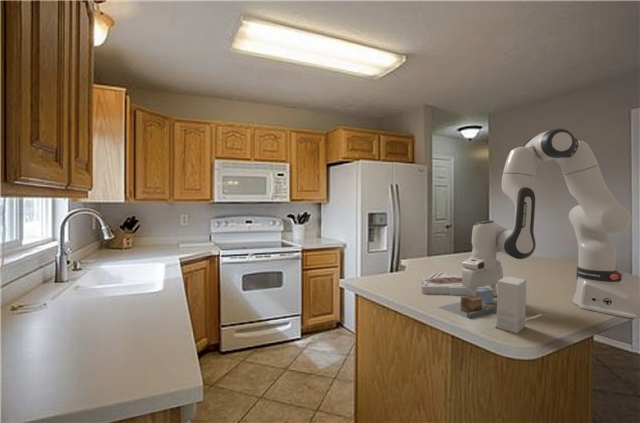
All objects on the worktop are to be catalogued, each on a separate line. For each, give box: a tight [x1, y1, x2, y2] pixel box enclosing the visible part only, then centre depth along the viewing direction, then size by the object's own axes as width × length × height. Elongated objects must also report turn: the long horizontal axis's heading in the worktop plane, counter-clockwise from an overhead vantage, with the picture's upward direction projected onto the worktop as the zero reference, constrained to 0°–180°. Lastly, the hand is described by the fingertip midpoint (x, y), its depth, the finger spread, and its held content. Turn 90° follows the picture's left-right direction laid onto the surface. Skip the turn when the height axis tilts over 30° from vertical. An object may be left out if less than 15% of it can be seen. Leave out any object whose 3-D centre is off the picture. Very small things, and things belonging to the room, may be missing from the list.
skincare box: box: [496, 276, 527, 334], centre depth 109 cm, size 8×7×16 cm
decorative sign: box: [421, 271, 498, 297], centre depth 159 cm, size 32×4×30 cm
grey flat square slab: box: [437, 301, 497, 319], centre depth 126 cm, size 14×14×2 cm
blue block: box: [476, 288, 495, 305], centre depth 135 cm, size 5×5×5 cm
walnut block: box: [460, 295, 483, 313], centre depth 123 cm, size 5×5×5 cm
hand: (483, 296), depth 135 cm, fingers open, 8 cm apart
